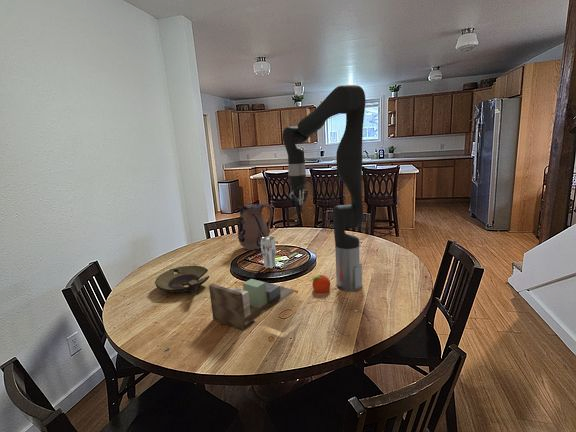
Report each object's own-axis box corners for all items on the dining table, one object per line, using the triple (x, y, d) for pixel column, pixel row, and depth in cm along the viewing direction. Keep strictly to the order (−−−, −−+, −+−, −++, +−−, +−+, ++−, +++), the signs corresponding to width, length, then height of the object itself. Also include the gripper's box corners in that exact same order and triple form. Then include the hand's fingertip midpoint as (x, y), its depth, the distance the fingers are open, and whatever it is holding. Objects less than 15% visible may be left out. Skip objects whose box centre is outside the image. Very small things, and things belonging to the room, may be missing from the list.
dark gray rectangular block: (280, 297, 119) (279, 286, 118) (270, 303, 115) (269, 292, 114) (260, 291, 125) (259, 280, 124) (250, 297, 121) (249, 286, 120)
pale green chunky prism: (267, 302, 116) (265, 282, 114) (259, 308, 112) (257, 287, 111) (253, 298, 120) (251, 278, 118) (244, 303, 116) (242, 283, 115)
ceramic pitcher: (235, 246, 189) (231, 205, 183) (268, 240, 197) (265, 200, 192) (244, 255, 173) (240, 210, 168) (279, 247, 181) (276, 204, 176)
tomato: (313, 298, 119) (312, 280, 118) (307, 290, 126) (306, 274, 124) (333, 294, 121) (332, 277, 120) (326, 287, 128) (325, 270, 126)
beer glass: (270, 272, 147) (268, 241, 143) (259, 269, 151) (256, 239, 148) (280, 267, 152) (277, 237, 149) (269, 264, 156) (266, 235, 153)
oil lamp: (209, 272, 152) (207, 257, 151) (211, 299, 124) (208, 281, 122) (160, 279, 147) (158, 264, 146) (150, 310, 119) (146, 291, 117)
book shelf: (296, 293, 124) (294, 262, 122) (242, 330, 101) (238, 294, 98) (269, 285, 133) (266, 257, 130) (213, 319, 109) (208, 285, 107)
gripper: (295, 175, 130) (297, 216, 134) (312, 172, 140) (314, 210, 144) (281, 175, 135) (283, 215, 138) (298, 172, 145) (301, 209, 149)
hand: (299, 213), depth 141 cm, fingers closed
